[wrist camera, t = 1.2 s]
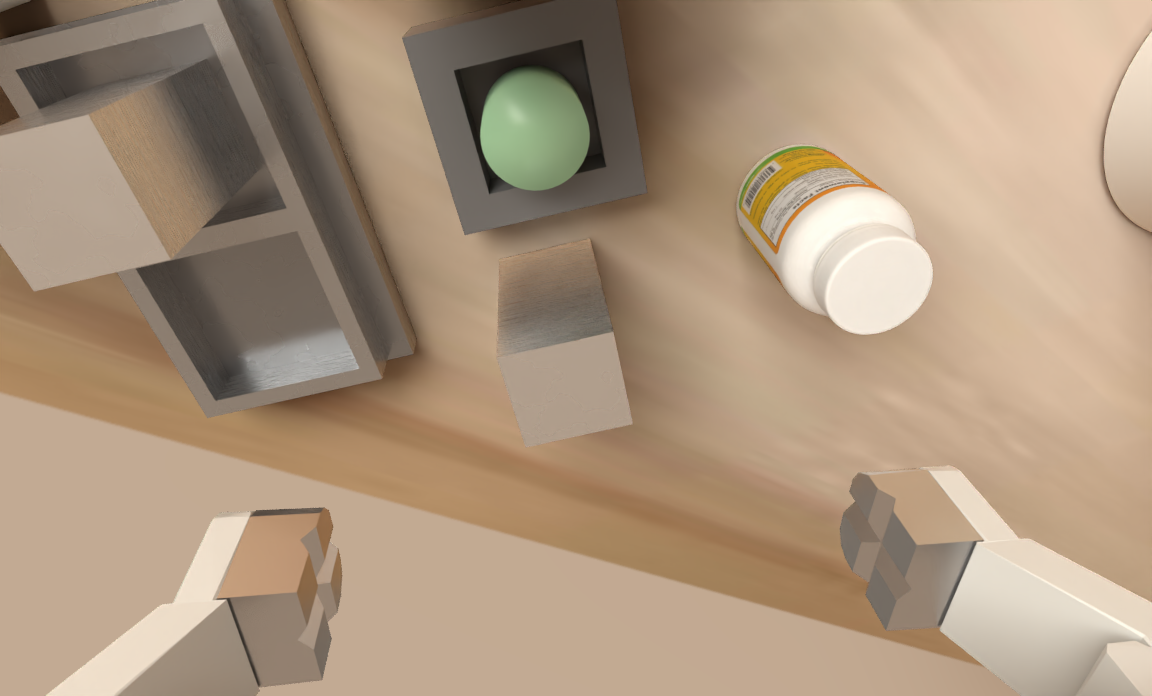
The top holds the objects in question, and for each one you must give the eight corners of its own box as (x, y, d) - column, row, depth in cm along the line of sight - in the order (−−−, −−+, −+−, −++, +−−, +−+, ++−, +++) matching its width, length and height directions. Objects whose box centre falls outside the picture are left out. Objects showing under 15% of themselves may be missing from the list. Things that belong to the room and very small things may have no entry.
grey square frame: (604, -21, 28) (613, -14, 26) (636, 171, 32) (647, 192, 30) (411, 27, 28) (402, 37, 26) (468, 210, 33) (464, 235, 30)
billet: (589, 238, 34) (613, 331, 26) (606, 317, 36) (633, 423, 29) (499, 259, 34) (496, 357, 26) (522, 336, 37) (525, 447, 29)
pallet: (273, -29, 27) (157, -2, 18) (416, 338, 36) (386, 477, 27) (4, 38, 28) (-239, 97, 19) (211, 384, 36) (115, 536, 28)
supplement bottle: (845, 236, 35) (948, 335, 27) (738, 260, 35) (808, 365, 27) (845, 129, 32) (961, 202, 24) (729, 155, 32) (804, 237, 24)
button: (571, 54, 27) (577, 68, 25) (591, 154, 29) (598, 177, 27) (470, 78, 27) (466, 94, 25) (497, 176, 29) (496, 201, 27)
